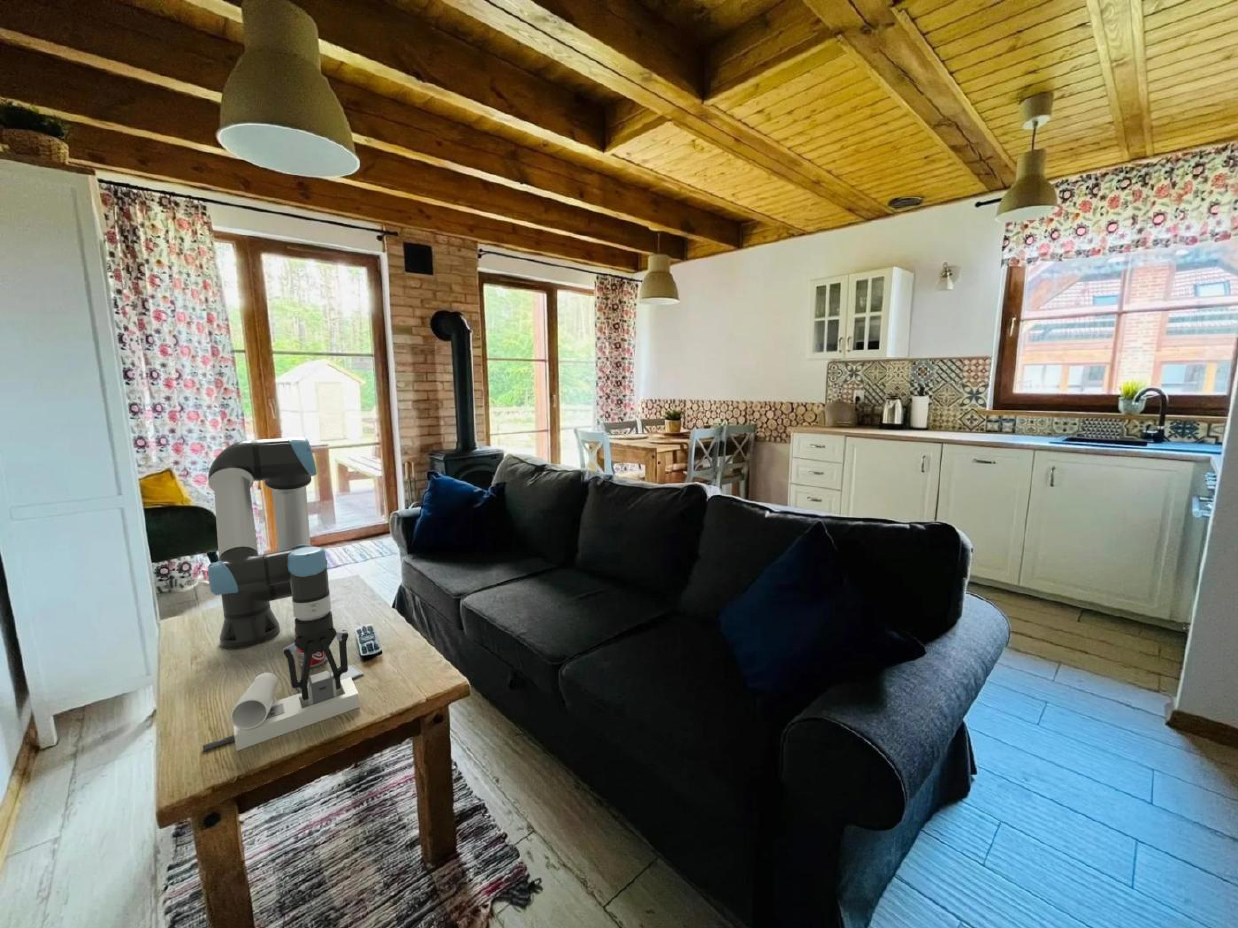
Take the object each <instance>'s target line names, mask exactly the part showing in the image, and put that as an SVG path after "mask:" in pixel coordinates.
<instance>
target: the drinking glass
mask: <svg viewBox="0 0 1238 928" xmlns="http://www.w3.org/2000/svg"><path fill="white" fill-rule="evenodd" d="M278 686H279V678H278V677H277V676H276V675H275V674H274V673H271V672H264V673H262V672H261V674H258V675H257V676H255V678H254V679H253V680H252V682H251V684H250V685H249V686H248V687H247V689H246V690H244V692H242V694H241V695H240V697H239V698H238V700H237V701H236V703H235V705H234V706H233V708H232V711H231V713H230V721H231V723H232V725H233V726H234V725H235V726H236V727H238V728H240V729H252V728H255V727H257V726H259V725H260V724H261V723H263V721H264V720H265V719H266V717H267V715H268V713H269V711H270V709H271V707H272V703H273V702H274V699H275V695H276V690H277V689H278Z"/></svg>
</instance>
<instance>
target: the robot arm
mask: <svg viewBox="0 0 1238 928" xmlns="http://www.w3.org/2000/svg"><path fill="white" fill-rule="evenodd" d="M317 473H318V471H317V467H316V462H315V458H314V455H313V450H312V448H311V444H310V441H309V440H308V439H307V438H306V437H303V436H302V437H292V436H289V437H279V438H277V437H276V438H265V439H263V438H262V439H245V440H241V441H236V442H234V443H233V444H231V445H229V446H228V447H226V448H224V449H223V450H222V451H221V452H220V453H219V454H218V455H216V457H215V459H214V460H213V461H212V463H211V465H210V467H209V470H208V476H207V477H208V478H207V479H208V486H209V488H210V489H211V490H212V491H213V492H214V506H215V507H214V509H215V521H216V537H217V547H218V548H217V551H218V560H217V561H216V562H211V563H209V565H208V567H207V568H208V569H207V573H208V575H207V576H208V577H207V578H208V584H209V589H210V592H211V594H213V595H216V596H219V595H220V597H221V602H222V603H221V604H222V610H223V611H222V612H223V618H224V619H223V622H222V623H223V624H222V627H221V630H220V631H221V632H220V635H219V644H220V647H221V648H224V649H229V650H236V649H237V650H238V649H245V648H249V647H254V646H258V645H259V644H263V643H266V642H267V641H269V640H270V641H271V640H272V639H273V638H275V637H276V636H278V634H280V632H281V629H280V623H279V621H278V619H277V617H276V616H275V614H274V612H273V610H272V609H271V608H272V607H271V602H272V601H277V600H281V599H288V598H291V599H292V609H293V617H294V618H295V619H294V629H295V628H296V638H295V637H294V641H293V642H291V644H289V645H284V646H282V653H283V655H284V656H285V658H286V659H287V666H288V672H289V679H290V684H291V687H292V689H295V690H296V688H298V687H299V688H301V692H302V698H303V700H307V699H308V703H309V706H311V705H313V697H312V688H311V684H310V682H309V677H310V670H311V668H310V665H311V659H312V654H315V653H317V652H323V651H324V652H325V654H326V657H327V661H328V664H329V666H330V669H331V671H332V672H333V674H332V675H331V677H332V683H333V692H334V698H335V697H337V693H336V690H337V689H340V688H341V682H340V677H341V676H340V675H341V674H342V673H346V672H347V671H348V666H349V664H348V651H347V650H348V648H347V641H348V639H349V633H348V631H347V630H346V629H342V630H336V628H335V627H334V620H333V619H334V618H333V612H332V602H331V593H330V592H331V591H330V587H329V574H328V573H329V571H328V560H327V555H326V551H325V549H323V548H322V547H320V546H319V547H318V546H313V545H311V536H310V520H309V510H308V497H307V495H308V494H307V486H309V485H310V484H311V482H312V477H315V476H316V475H317ZM260 481H264V485H265V486H266V488H268V489H270V490H271V493H272V502H273V503H272V504H273V513H274V523H275V531H276V541H277V550H278V551H275V552H268V553H263V554H259V551H258V549H259V548H258V540H257V533H256V532H257V531H256V526H255V517H254V508H253V501H252V492H251V488H252V487H253V485H254V483H255V482H260ZM335 638H336V639H337V641H338V648H339V649H338V650H339V662H340V666H339V667H338V666H337V663H336V661H335V658H334V655H333V654H332V650H331V648H330V646H331V645H332V643H333V641H334V640H335ZM297 647H298V648H299V649H301V650H302V651H303V652H304V659H303V666H302V667H301V673H300V679H298V675H297V669H296V662H295V658H294V655H295V653H296V649H297Z"/></svg>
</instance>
